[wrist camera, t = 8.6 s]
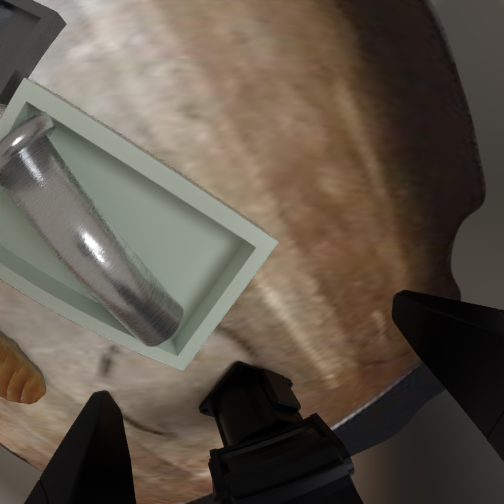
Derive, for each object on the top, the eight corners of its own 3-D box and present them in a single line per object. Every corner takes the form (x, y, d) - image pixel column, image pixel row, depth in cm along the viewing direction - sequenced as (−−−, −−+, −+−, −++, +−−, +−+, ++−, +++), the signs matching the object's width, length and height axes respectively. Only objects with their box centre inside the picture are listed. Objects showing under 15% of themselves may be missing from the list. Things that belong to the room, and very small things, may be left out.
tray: (178, 349, 23) (183, 371, 21) (-29, 233, 15) (-46, 245, 13) (264, 230, 21) (278, 242, 19) (38, 83, 14) (24, 77, 11)
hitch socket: (11, 105, 13) (-5, 103, 11) (-40, 72, 11) (-56, 68, 9) (66, 24, 13) (57, 12, 11) (10, -3, 10) (-2, -15, 8)
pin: (150, 368, 16) (-31, 169, 9) (124, 336, 20) (-15, 177, 13) (205, 308, 18) (49, 100, 11) (170, 287, 22) (45, 123, 14)
